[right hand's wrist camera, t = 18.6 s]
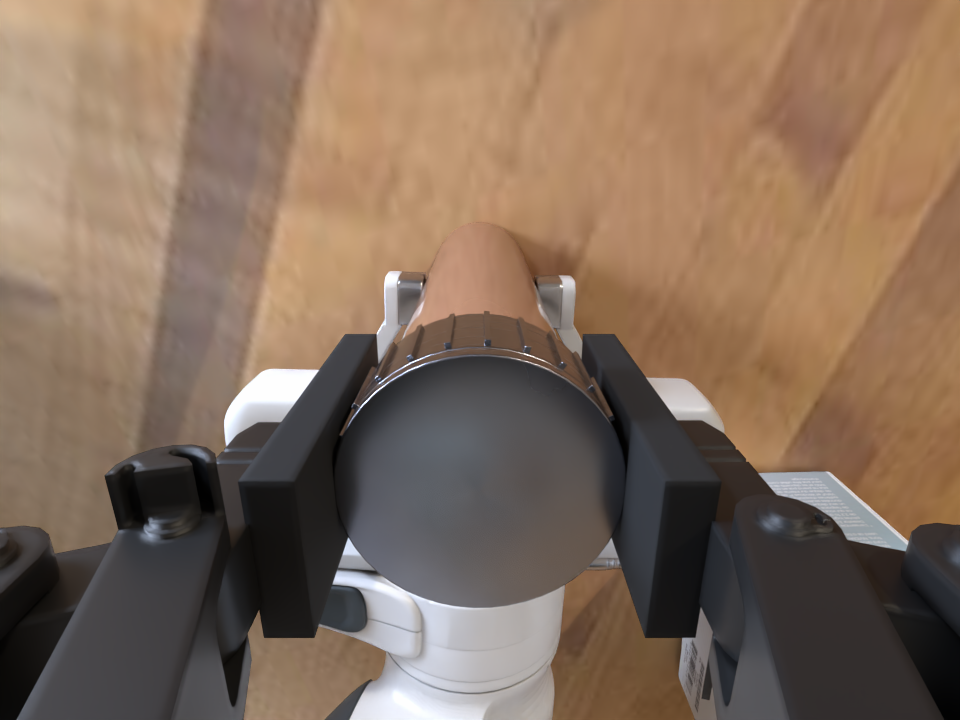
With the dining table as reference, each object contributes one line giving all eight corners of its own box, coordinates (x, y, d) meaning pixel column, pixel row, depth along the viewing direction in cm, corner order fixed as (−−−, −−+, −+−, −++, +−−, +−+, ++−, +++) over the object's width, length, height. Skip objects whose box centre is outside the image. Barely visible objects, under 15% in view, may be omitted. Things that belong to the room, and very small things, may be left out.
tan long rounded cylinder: (522, 219, 28) (605, 352, 10) (525, 307, 29) (600, 567, 11) (432, 224, 28) (340, 366, 10) (439, 312, 29) (372, 578, 11)
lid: (306, 399, 12) (264, 459, 10) (514, 257, 11) (524, 286, 9) (451, 566, 13) (445, 653, 11) (646, 455, 12) (685, 525, 10)
